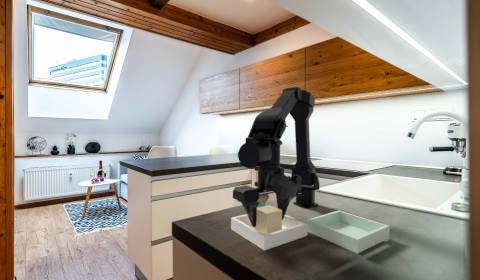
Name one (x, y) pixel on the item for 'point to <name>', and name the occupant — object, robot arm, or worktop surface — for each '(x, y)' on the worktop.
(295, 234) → the bin
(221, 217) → the worktop surface
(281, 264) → the worktop surface
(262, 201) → the cupcake
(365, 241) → the bin
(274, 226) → the beige plain cubic block
